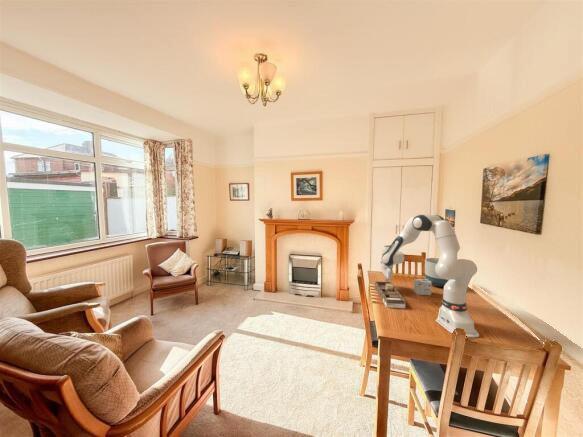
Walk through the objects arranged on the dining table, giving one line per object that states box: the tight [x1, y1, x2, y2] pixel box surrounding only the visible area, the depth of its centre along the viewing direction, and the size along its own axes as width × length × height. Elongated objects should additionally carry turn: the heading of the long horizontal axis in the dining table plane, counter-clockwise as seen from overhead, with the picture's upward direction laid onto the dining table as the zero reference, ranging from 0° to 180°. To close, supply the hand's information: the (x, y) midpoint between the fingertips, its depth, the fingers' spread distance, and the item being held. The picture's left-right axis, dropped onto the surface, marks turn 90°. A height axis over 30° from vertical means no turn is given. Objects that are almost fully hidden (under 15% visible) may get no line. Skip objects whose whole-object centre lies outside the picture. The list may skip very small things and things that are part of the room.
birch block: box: [386, 283, 394, 291], centre depth 184 cm, size 5×4×4 cm
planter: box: [424, 257, 448, 288], centre depth 200 cm, size 20×20×21 cm
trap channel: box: [374, 280, 406, 309], centre depth 178 cm, size 35×12×6 cm, turn 173°
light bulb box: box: [413, 278, 433, 296], centre depth 184 cm, size 11×7×11 cm, turn 84°
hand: (386, 280), depth 192 cm, fingers closed
